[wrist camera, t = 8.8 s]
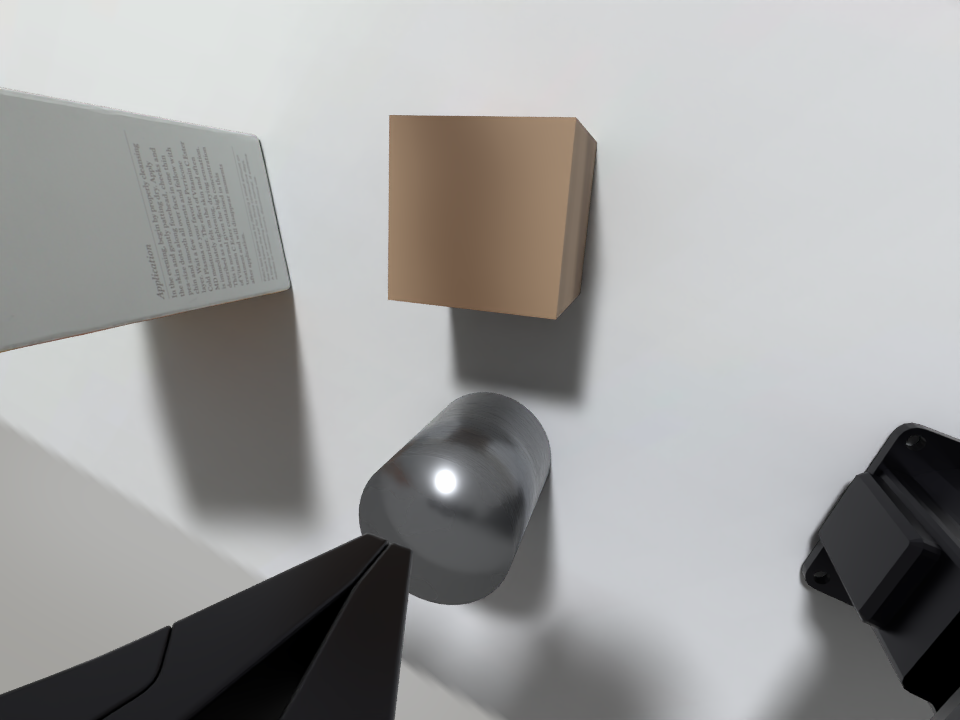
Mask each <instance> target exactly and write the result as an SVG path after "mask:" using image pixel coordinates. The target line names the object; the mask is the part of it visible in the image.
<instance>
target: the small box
mask: <svg viewBox="0 0 960 720" xmlns="http://www.w3.org/2000/svg"><path fill="white" fill-rule="evenodd" d="M290 285H291V284H290V280H289V275H288V271H287V266H286V262H285V258H284V253H283V248H282V243H281V239H280V235H279V230H278V226H277V221H276V216H275V212H274V207H273V202H272V197H271V192H270V188H269V183H268V178H267V174H266V169H265V165H264V161H263V156H262V152H261V148H260V144H259V140H258V138H257V136H256V135H254V134H248V133H243V132H237V131H231V130H226V129H220V128H215V127H209V126H204V125H198V124H193V123H187V122H182V121H176V120H171V119H165V118H160V117H155V116H150V115H145V114H139V113H134V112H129V111H124V110H119V109H114V108H110V107H105V106H99V105H93V104H88V103H82V102H77V101H71V100H66V99H60V98H55V97H49V96H44V95H39V94H33V93H28V92H23V91H17V90H12V89H7V88H1V87H0V353H1V352H5V351H10V350H14V349H18V348H23V347H27V346H32V345H37V344H41V343H46V342H51V341H55V340H60V339H64V338H69V337H74V336H79V335H84V334H88V333H93V332H97V331H101V330H106V329H110V328H114V327H119V326H123V325H128V324H132V323H137V322H142V321H147V320H151V319H156V318H161V317H166V316H170V315H174V314H179V313H183V312H187V311H191V310H196V309H201V308H205V307H210V306H216V305H221V304H226V303H230V302H235V301H240V300H244V299H249V298H253V297H258V296H263V295H268V294H273V293H278V292H282V291H286V290H288V289H289V287H290Z"/></svg>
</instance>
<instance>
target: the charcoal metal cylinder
mask: <svg viewBox="0 0 960 720" xmlns="http://www.w3.org/2000/svg"><path fill="white" fill-rule="evenodd" d="M550 464H551V450H550V445H549V441H548V438H547V435H546V433H545V431H544V429H543V427H542V425H541V424H540V422H539V421H538V419H537V418H536V417H535V416H534V415H533V414H532V413H531V412H530V411H529V410H528V409H527V408H526V407H525V406H523V405H522V404H520V403H519V402H517V401H515V400H513V399H511V398H509V397H506V396H504V395H500V394H496V393H489V392H478V393H472V394H468V395H465V396H462V397H460V398H458V399H456V400H455V401H453V402H452V403H450V404H449V405H448V406H447V407H446V408H445V409H444V410H443V411H442V412H441V413H439V414H438V415H437V416H436V417H435V418H434V419H433V420H432V421H431V422H430V423H429V424H428V425H427V426H425V427H424V428H423V429H422V430H421V431H420V432H419V433H418V434H417V435H416V436H415V437H414V438H413V439H411V440H410V441H409V442H408V443H407V444H406V445H405V446H404V447H403V448H402V449H401V450H400V451H398V452H397V453H396V454H395V455H394V456H393V457H392V458H391V459H390V460H389V461H388V462H387V463H386V464H384V465H383V466H382V467H381V468H380V469H379V470H378V471H377V472H376V473H375V474H374V475H373V476H372V477H371V479H370V480H369V481H368V483H367V485H366V486H365V488H364V491H363V493H362V496H361V500H360V505H359V524H360V529H361V533H362V535H364V534H367V533H371V534H374V535H376V536H379V537H382V538H384V539H387V540H388V541H389V543H397V544H399V545H402V546H405V547H407V548H410V549H411V550H412V551H413V559H412V568H411V577H410V586H409V593H410V594H412V595H414V596H417V597H419V598H421V599H424V600H427V601H430V602H434V603H438V604H446V605H461V604H467V603H471V602H475V601H478V600H480V599H482V598H484V597H486V596H487V595H489V594H490V593H492V592H493V591H494V590H495V589H496V588H497V587H498V586H499V585H500V584H501V583H502V581H503V580H504V578H505V577H506V575H507V573H508V571H509V568H510V566H511V564H512V561H513V559H514V556H515V554H516V551H517V549H518V547H519V544H520V542H521V539H522V537H523V534H524V532H525V530H526V527H527V525H528V522H529V520H530V517H531V515H532V513H533V510H534V508H535V505H536V503H537V500H538V498H539V496H540V493H541V491H542V488H543V486H544V483H545V481H546V479H547V476H548V473H549V470H550Z"/></svg>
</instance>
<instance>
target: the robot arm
mask: <svg viewBox="0 0 960 720" xmlns="http://www.w3.org/2000/svg"><path fill="white" fill-rule="evenodd" d="M914 435H919V436H920V440H919V442H918V443H916V444H915V445H911V446H910V445H906V441H907V439H908V438H909V437H911V436H914ZM818 534H819V537H820V540H819V542H818V543H817V545H816V546H815V548H814V549H813V551H812V552H811V554H810V555H809V557H808V558H807V560H806V561H805V563H804V564H803V567H802V572H803V575H804V578H805V580H806V582H807V583H808V585H809V586H811V587H812V588H814V589H816V590H818V591H821V592H823V593H825V594H827V595H829V596H832V597H834V598H836V599H838V600H840V601H843V602H845V603H847V604H849V605H851V606H854V607H855V609H856V611H857V613H858V615H859V617H860V619H861V620H862V621H863V622H865V623H867V624H869V625H871V626H872V628H873V630H874V632H875V634H876V636H877V638H878V640H879V642H880V643H881V645H882V647H883V649H884V651H885V653H886V655H887V657H888V659H889V661H890V663H891V665H892V666H893V668H894V670H895V672H896V674H897V676H898V678H899V680H900V682H901V684H902V686H903V688H904V689H906V690H907V691H908V692H910V693H912V694H914V695H916V696H918V697H920V698H922V699H924V700H926V701H928V703H929V705H930V707H931V708H932V710H933V712H934V714H935V715H934V716H933V717H932V718H931V719H930V720H960V440H959V439H957V438H954V437H952V436H949V435H946V434H944V433H941V432H939V431H936V430H933V429H931V428H928V427H925V426H923V425H920V424H916V423H907V424H903V425H901V426H899V427H897V428H896V429H895V430H894V431H893V433H892V434H891V436H890V437H889V439H888V440H887V442H886V443H885V444H884V446H883V447H882V449H881V450H880V452H879V453H878V455H877V456H876V458H875V459H874V461H873V462H872V464H871V465H870V467H869V468H868V470H867V471H866V472H864V473H861V474H859V475H856V477H855V478H854V480H853V481H852V483H851V484H850V486H849V487H848V489H847V490H846V492H845V493H844V494H843V496H842V497H841V499H840V500H839V502H838V503H837V505H836V506H835V508H834V509H833V511H832V512H831V514H830V515H829V517H828V518H827V520H826V521H825V523H824V524H823V526H822V527H821V529H820V530H819V532H818ZM412 559H413V551H412V550H411V549H410V548H407V547H405V546H402V545H399V544H397V543H389V541H388V540H387V539H384V538H382V537H379V536H376V535H374V534H371V533H367V534H364V535H362V536H360V537H357V538H355V539H353V540H351V541H349V542H347V543H345V544H342V545H340V546H338V547H336V548H334V549H332V550H329V551H327V552H325V553H323V554H321V555H319V556H317V557H314V558H312V559H310V560H308V561H306V562H304V563H302V564H299V565H297V566H295V567H293V568H291V569H289V570H287V571H284V572H282V573H280V574H278V575H276V576H274V577H272V578H269V579H267V580H265V581H263V582H261V583H259V584H256V585H255V586H252V587H250V588H248V589H246V590H244V591H242V592H239V593H237V594H235V595H233V596H231V597H229V598H226V599H224V600H222V601H220V602H218V603H216V604H214V605H211V606H209V607H207V608H205V609H203V610H201V611H198V612H196V613H194V614H192V615H190V616H188V617H186V618H184V619H181V620H179V621H177V622H175V623H174V624H173V626H172V628H171V627H170V626H166V627H164V628H162V629H160V630H158V631H155V632H153V633H151V634H149V635H147V636H144V637H142V638H140V639H138V640H135V641H133V642H131V643H129V644H126V645H124V646H122V647H120V648H117V649H115V650H113V651H110V652H108V653H106V654H104V655H102V656H99V657H97V658H94V659H92V660H89V661H86V662H84V663H81V664H79V665H76V666H74V667H71V668H69V669H67V670H64V671H61V672H59V673H56V674H54V675H51V676H49V677H46V678H43V679H41V680H38V681H35V682H33V683H30V684H27V685H25V686H22V687H19V688H17V689H14V690H11V691H9V692H6V693H3V694H1V695H0V720H394V718H395V710H396V701H397V692H398V683H399V674H400V665H401V657H402V648H403V639H404V630H405V621H406V612H407V604H408V595H409V586H410V577H411V568H412ZM818 571H824V572H826V574H825V575H824V576H821V577H817V576H814V574H815V573H816V572H818Z"/></svg>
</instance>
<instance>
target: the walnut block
mask: <svg viewBox="0 0 960 720" xmlns="http://www.w3.org/2000/svg"><path fill="white" fill-rule="evenodd" d="M596 145H597V142H596V141H595V139H594V138H593V137H592V136H591V135H590V133H589V132H588V131H587V130H586V129H585V128H584V126H583V125H582V124H581V123H580V122H579V120H578V119H577V118H576V117H495V116H412V115H389V243H388V300H395V301H404V302H412V303H421V304H429V305H438V306H446V307H454V308H463V309H471V310H480V311H488V312H497V313H505V314H514V315H522V316H531V317H539V318H547V319H557V318H558V317H559V316H560V315H561V314H562V313H563V312H564V310H565V309H566V308H567V307H568V306H569V305H570V304H571V303H572V302H573V301H574V300H575V299H576V298H577V297H578V296H579V294H580V290H581V281H582V272H583V263H584V254H585V245H586V236H587V227H588V218H589V209H590V200H591V191H592V182H593V173H594V163H595V154H596Z"/></svg>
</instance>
